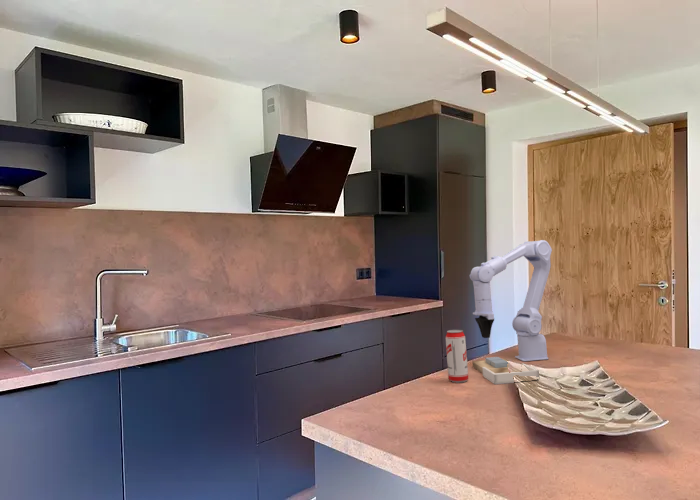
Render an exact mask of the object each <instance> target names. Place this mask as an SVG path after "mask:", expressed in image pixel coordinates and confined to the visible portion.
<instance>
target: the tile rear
mask: <svg viewBox="0 0 700 500" xmlns="http://www.w3.org/2000/svg"><path fill="white" fill-rule="evenodd" d="M503 359H504V358H502V357H499V356H490V357H485V359H484V360H486V363H488V364H489V365H491V363H490V361H491V360H503Z"/></svg>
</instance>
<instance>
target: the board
mask: <svg viewBox="0 0 700 500" xmlns="http://www.w3.org/2000/svg"><path fill="white" fill-rule="evenodd" d="M502 359H503V360H505V361H510V360H509V359H507V358H502ZM471 363H472V368H473V367H474V368H473V369H475V370H476V369H477V370H476V371H478V372H479V371H480V372H479V373H481V374H482V375H483V369H482V367H486V368H487V369H489V370H491V371H492V372H494V373H505V372H509V371H508V367H502V368H494V367H493V366H491V365H489V364H488V363H486V360H485V359H484V360H474V361H472V362H471Z"/></svg>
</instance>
